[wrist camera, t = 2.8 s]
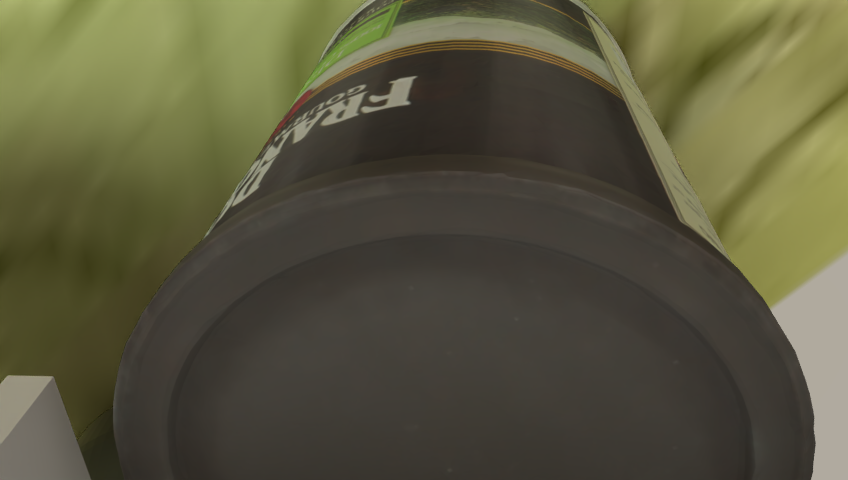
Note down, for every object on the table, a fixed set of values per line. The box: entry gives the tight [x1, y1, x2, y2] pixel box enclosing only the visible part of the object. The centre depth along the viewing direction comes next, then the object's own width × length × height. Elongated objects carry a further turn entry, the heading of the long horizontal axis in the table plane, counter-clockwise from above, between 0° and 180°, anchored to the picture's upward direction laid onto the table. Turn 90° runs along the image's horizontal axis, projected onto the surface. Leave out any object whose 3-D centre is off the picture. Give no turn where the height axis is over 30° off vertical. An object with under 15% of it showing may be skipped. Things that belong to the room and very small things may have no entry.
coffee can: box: [113, 0, 815, 480], centre depth 17 cm, size 10×10×14 cm
